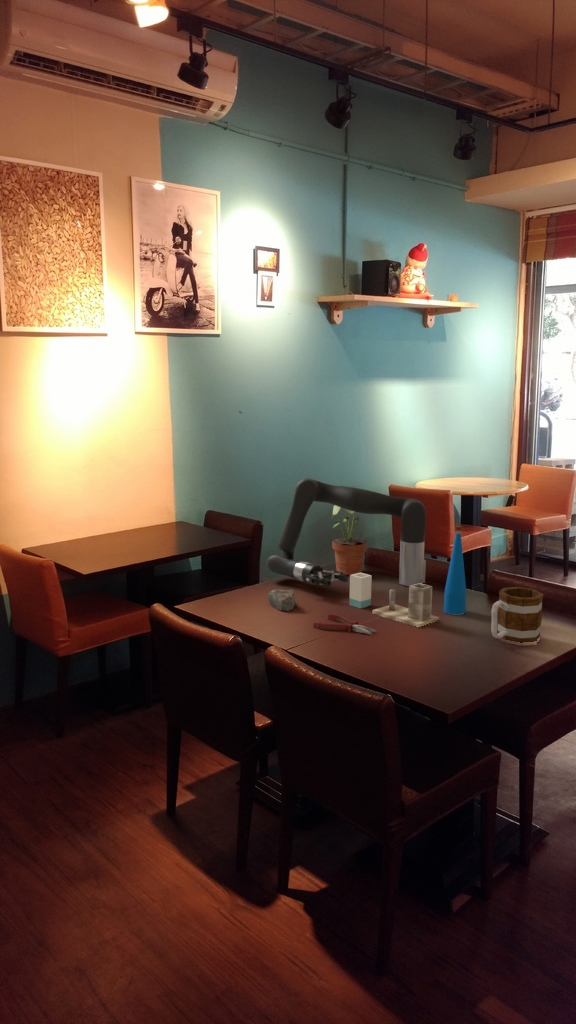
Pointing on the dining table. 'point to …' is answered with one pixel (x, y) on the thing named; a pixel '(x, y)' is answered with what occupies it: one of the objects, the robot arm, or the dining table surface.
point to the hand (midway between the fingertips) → (338, 581)
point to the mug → (517, 614)
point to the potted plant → (348, 547)
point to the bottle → (456, 580)
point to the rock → (282, 599)
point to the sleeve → (360, 590)
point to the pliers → (342, 625)
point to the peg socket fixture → (411, 607)
